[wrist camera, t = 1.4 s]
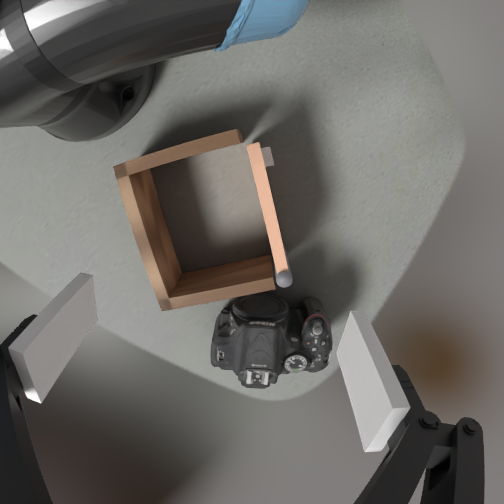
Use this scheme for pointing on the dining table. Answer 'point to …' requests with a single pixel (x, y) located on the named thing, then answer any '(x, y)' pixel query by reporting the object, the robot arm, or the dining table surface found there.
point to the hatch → (269, 211)
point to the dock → (159, 242)
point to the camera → (270, 339)
